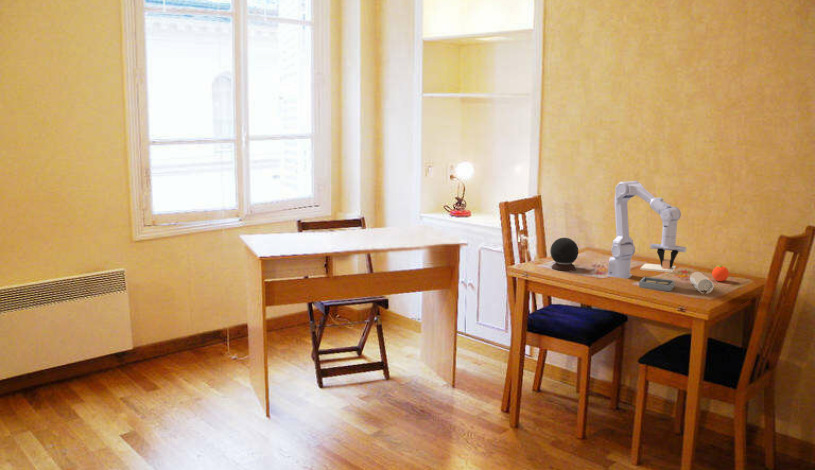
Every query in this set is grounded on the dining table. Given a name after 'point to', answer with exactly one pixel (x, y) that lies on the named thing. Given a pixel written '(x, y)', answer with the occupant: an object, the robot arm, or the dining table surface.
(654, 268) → the lid
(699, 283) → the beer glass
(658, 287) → the tub
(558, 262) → the black ball on stand
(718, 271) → the clementine
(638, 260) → the dining table surface
